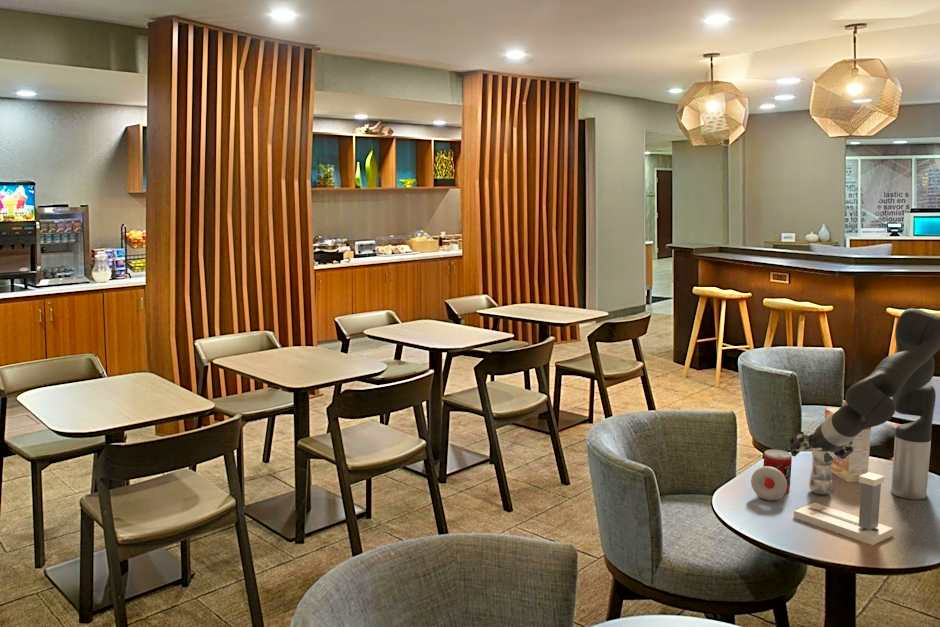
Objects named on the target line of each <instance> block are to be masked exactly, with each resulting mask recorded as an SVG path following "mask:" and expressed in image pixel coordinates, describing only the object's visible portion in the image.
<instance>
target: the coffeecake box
mask: <svg viewBox="0 0 940 627" xmlns="http://www.w3.org/2000/svg"><path fill="white" fill-rule="evenodd" d="M840 408H841V407H839V408H838V407H834V408H833V407H829V408H825V409H824V410H825V411H824V421H825V420H826V419H827V418H828V417H829V416H831V415H832V414H834V413H835V412H836V411H837V410H839V409H840ZM871 434H872V427H870V428H866V429H864V430H862V431H861V432H860V433H859V434H858V435H857V436H856V437H855V438H854V439H853V440H852V443H853V451H852V452H851V453H850V454H849V455H848V456H847V457H846V458H845V459H841V458H840V457H837V458H834V459H833V460H832V464H831V465H832V466H831V474H834V475H835V474H836V476H837V477H839V478H841V479H842V480H844V481H846V482H847V483H852V482H853V483H855V482H854V481H856V482H859V476H860V475H863V474H865V473H868V472H869V463H870V451H871V450H870V449H871V438H872V437H871Z"/></svg>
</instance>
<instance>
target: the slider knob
mask: <svg viewBox="0 0 940 627" xmlns="http://www.w3.org/2000/svg"><path fill="white" fill-rule="evenodd" d="M885 477H886V476H884V475H881V474H878V473H874V472H870V471H868V473H865V474H863V475H860V476H859V481H858V483H860V484H861V486H860V487H861V489H860V501H859V516H858V517H859V527H862V528H865V529H868V530H871V529H874V528H876V527H878V523H879V518H880V517H879V516H880V503H881V492H882V491H881V490H882V484H883V483H885Z"/></svg>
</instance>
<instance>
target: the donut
mask: <svg viewBox="0 0 940 627" xmlns="http://www.w3.org/2000/svg"><path fill="white" fill-rule="evenodd" d="M763 466H764V465H763ZM763 466H762V467H758V468H757V469H756V470H755V471H754V472H753V473H752V475H751V478H750V479H751V480H750V484H751V488H752V491H754V493H755V494H756V495H757V496H758V497H759V498H761V499H763V500H766V501H776V500H779V499H780V498H782V497H783V496H785V494H786V493H787V492H786V489H787V481H786V478H785V476H784V475H783V474H782V473H781V471H779V470H778V469H776V468H774V467H770V466H764V467H763ZM765 478H770V479H772V480H773V481H774V483H775V486H774V488H772V489H769V488H766V487H765V486H764V484H763V480H764V479H765Z"/></svg>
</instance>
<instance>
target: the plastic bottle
mask: <svg viewBox="0 0 940 627" xmlns="http://www.w3.org/2000/svg"><path fill="white" fill-rule="evenodd" d="M826 453H827V451H826V452H823V451H820V450H813V451H811V455H812V458H811V459H812V460H811V462H812V464H811V465H812V466H811V472H810V476H809V480H808V488H809V489H810V490H809V491H811V492H812V493H814V494H816V495H829V494H830V493H831V492H832V489H833V479H832V472H831V466H832V465H831V464H832V461H829V462H828V463H826V462H824V454H826Z"/></svg>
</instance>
